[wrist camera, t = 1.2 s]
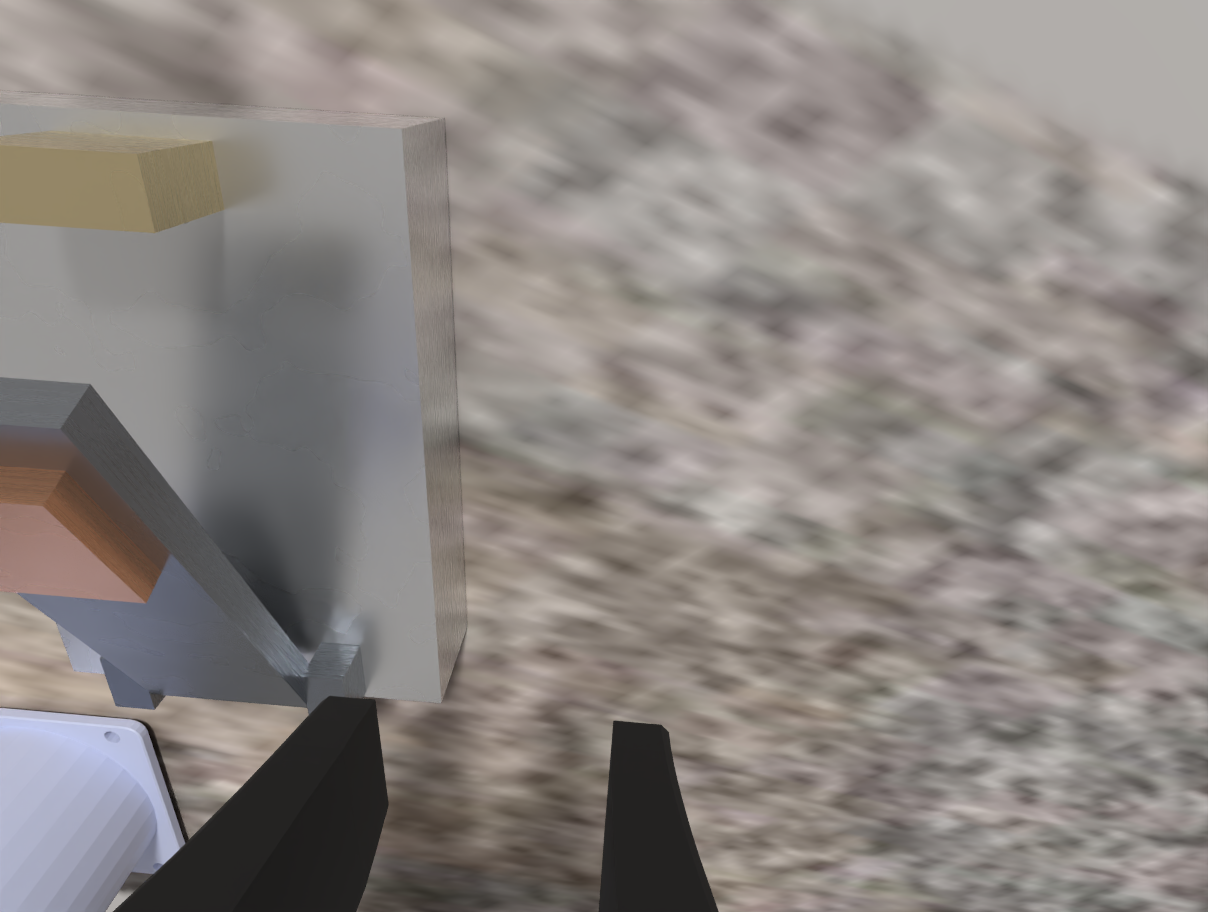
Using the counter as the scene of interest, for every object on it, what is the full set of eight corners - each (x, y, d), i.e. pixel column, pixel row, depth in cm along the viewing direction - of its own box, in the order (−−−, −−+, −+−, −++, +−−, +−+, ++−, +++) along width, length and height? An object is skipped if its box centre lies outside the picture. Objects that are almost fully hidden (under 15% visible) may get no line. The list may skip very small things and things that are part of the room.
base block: (142, 600, 23) (11, 736, 18) (-12, 89, 16) (-279, 99, 12) (467, 627, 22) (417, 773, 18) (444, 118, 16) (357, 140, 11)
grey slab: (166, 663, 19) (141, 717, 18) (-190, 363, 10) (-270, 441, 9) (319, 676, 19) (301, 732, 18) (90, 383, 10) (35, 465, 9)
